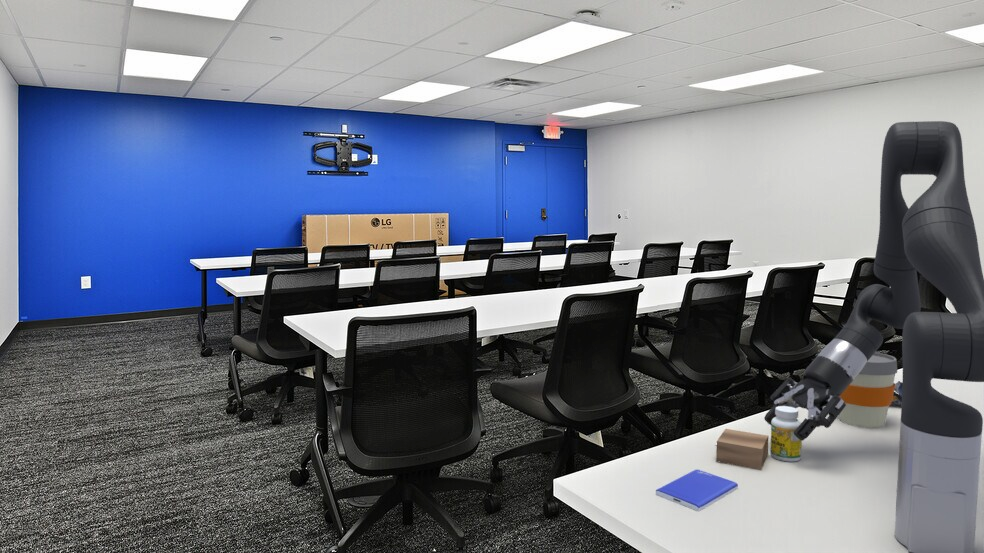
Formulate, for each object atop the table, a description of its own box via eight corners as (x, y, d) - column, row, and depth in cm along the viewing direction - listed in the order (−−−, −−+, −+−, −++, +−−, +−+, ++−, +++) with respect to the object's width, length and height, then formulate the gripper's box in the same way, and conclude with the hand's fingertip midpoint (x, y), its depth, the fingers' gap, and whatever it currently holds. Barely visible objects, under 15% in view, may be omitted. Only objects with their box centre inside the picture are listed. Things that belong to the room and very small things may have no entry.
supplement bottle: (807, 460, 118) (809, 411, 117) (784, 464, 116) (786, 414, 115) (786, 450, 123) (787, 403, 122) (764, 453, 121) (765, 406, 120)
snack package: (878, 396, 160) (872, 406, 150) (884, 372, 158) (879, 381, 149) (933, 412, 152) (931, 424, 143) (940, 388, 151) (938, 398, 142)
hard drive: (695, 468, 112) (655, 488, 104) (738, 482, 106) (699, 505, 98) (695, 476, 113) (655, 497, 105) (737, 491, 106) (698, 514, 98)
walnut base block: (761, 470, 114) (761, 449, 113) (716, 461, 118) (716, 441, 117) (767, 455, 120) (768, 435, 120) (725, 447, 125) (725, 428, 124)
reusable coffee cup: (908, 426, 136) (911, 359, 134) (867, 434, 131) (871, 365, 130) (855, 409, 147) (858, 348, 146) (817, 416, 143) (819, 353, 141)
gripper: (798, 347, 126) (747, 406, 125) (853, 363, 113) (796, 430, 111) (819, 371, 128) (769, 429, 127) (876, 389, 114) (820, 455, 113)
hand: (782, 429), depth 119 cm, fingers open, 8 cm apart
